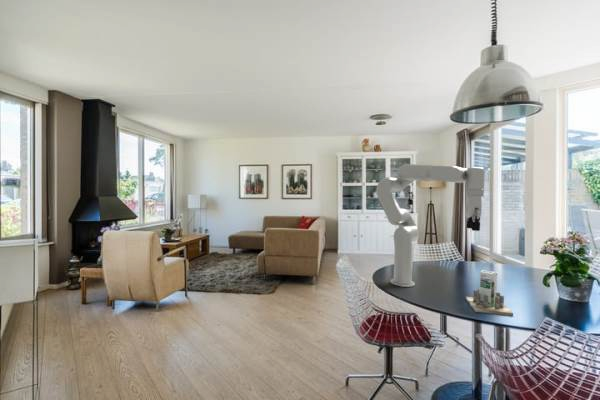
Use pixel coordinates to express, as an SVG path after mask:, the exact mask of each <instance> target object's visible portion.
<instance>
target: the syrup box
mask: <svg viewBox="0 0 600 400" xmlns="http://www.w3.org/2000/svg"><path fill="white" fill-rule="evenodd" d="M497 283H498V272H497V271H491V270H490V271H489V270H485V269H482V270H481V271H480V272H479V285H478V286H479V288H478V289H479V293H480V304H483V301H484V295H487V296H488V306H491V307H493V306H494V305H495V296H496V292H497V286H498V285H497Z"/></svg>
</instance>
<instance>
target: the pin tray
mask: <svg viewBox="0 0 600 400" xmlns="http://www.w3.org/2000/svg"><path fill="white" fill-rule="evenodd" d="M472 293H473V295H472V296H473V297H472V296H465V300H466V301H467V302H468V304H469V305H470V307H471V308H472V309H473V311H474V312H478V313H485V314H492V313H494V315H500V316H501V315H502V316H507V317H513V316H514V313H513V311H512V310H511V309H510V308H509V307H508V306H506V304H504V303H505V301H504V300H505V296H504V295H501V292H499V291H496V296H495V305H494V306H493V307H491V306H488V296H487V295H484V301H483V304H480V293H479V288H478V289H473V292H472Z"/></svg>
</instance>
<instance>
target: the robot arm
mask: <svg viewBox="0 0 600 400" xmlns="http://www.w3.org/2000/svg"><path fill="white" fill-rule="evenodd" d="M485 171H486V170H485V168H484V167H481V166H472V167H468V168H465V167H460V166H457V165H456V166H453V165H432V164H411V163H405V164H402V165H400V166H399V168H398V170H397V174H398V175H397V176H396V177H392V176H386V177H384V178H381V180H380V181H379V182H378V183H377V185H376V197H377V198H378V200H379V203H380V205H381V207H382V209H383V211H384V214H385V216H386V219H387V220H388V223H389V224H390V225H392V226H398V227H397V228H396V229H395V230H394V232H393V243H394V250H393V251H394V254H393V255H394V256H393V257H394V259H393V260H394V261H393V278H391V279H390V283H391V284H392V285H394V286H398V287H404V288H411V287H414V286H415V285H416V284H415V281H413V260H414V258H413V256H414V255H413V254H414V251H413V250H414V249H413V242H416V241H418V239H419V237H420V231H419V228H418V227H417V224H416V222H415V220H414V218H413V215H412V214H411V213H410V211H408V210H407V209H406V208H402V207H400V205H399V203H398V201H397V199H396V197H395V196H394V195H393V193H400V192H401V191H403V190H404V189H405V188H407V187H408V186H410V185H411V184H412V183H413V182H414V181H419V182H432V181H433V182H434V181H435V182H447V183H448V182H449V183H457V184H461V183H462V184H463V183H465V191H464V193H465V195H464V197H466V200H465V207H464V208H465V211H464V216H465V217H466V228H467V229H471V230H472V232H473V231H476V232H480V231H481V217H482V206H483V204H482V201H483V200H482V197H484V192H485Z"/></svg>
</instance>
